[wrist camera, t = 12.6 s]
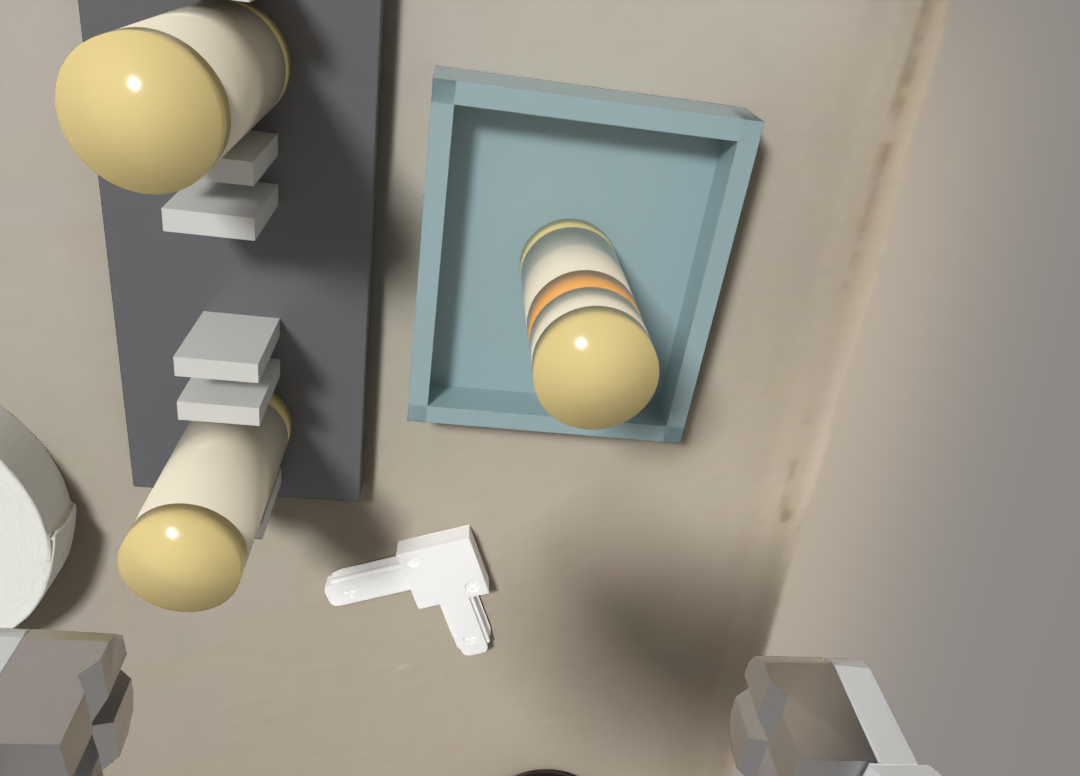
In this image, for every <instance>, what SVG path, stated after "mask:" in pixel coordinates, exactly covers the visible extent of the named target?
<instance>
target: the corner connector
mask: <svg viewBox="0 0 1080 776" xmlns="http://www.w3.org/2000/svg"><path fill="white" fill-rule="evenodd" d="M407 590H411V592H412V594H413V596H414V599H415V601H416V603H417V606H418V608H419V609H421V608H426V607H430V606H435V605H439V604H440V607H441V609H442V611H443V614H444V616H445V619H446V621H447V624H448V626H449V628H450V631H451V633H452V636H453V637H454V639H455V642H456V644H457V647H458V648H459V649H461V651H462V653H463V654H464V655H474V654H479V653H483V652H485V651H487V649H488V643H489V642H490V638H489V636H490V635H491V628H490V625H489V622H488V619H487V617H486V614H485V611H484V609H483V606H482V603H481V601H480V598H479V595H484V594H488V593H489V577H488V575H487V572H486V569H485V566H484V564H483V561H482V558H481V555H480V553H479V550H478V547H477V544H476V542H475V539H474V536H473V533H472V531H471V528H470V525H466V526H461V527H457V528H453V529H449V530H444V531H440V532H436V533H432V534H427V535H423V536H419V537H414V538H410V539H406V540H402V541H398V544H397V552H396V556H394V557H389V558H385V559H381V560H376V561H372V562H368V563H363V564H359V565H355V566H350V567H346V568H342V569H339V570H337V571H335V572H333V573H332V576H329V577H328V578H327V582H326V586H325V594H326V596H327V598H328V600H329V601H330V603H331V604H332V605H334V606H340V605H346V604H350V603H355V602H359V601H363V600H368V599H372V598H377V597H381V596H385V595H390V594H394V593H399V592H403V591H407Z"/></svg>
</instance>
